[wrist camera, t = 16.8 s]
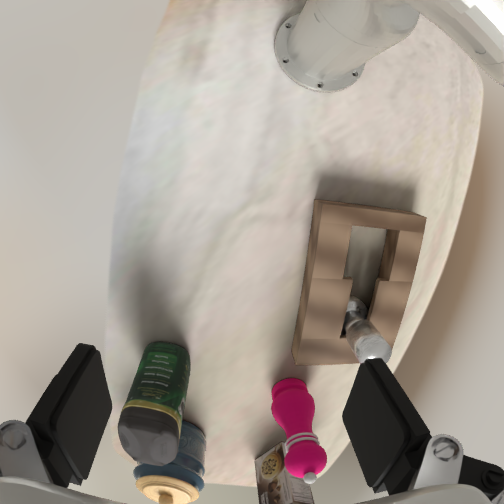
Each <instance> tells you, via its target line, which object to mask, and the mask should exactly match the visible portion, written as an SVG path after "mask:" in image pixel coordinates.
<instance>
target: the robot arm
mask: <svg viewBox="0 0 504 504" xmlns="http://www.w3.org/2000/svg"><path fill="white" fill-rule="evenodd" d="M419 14H422V15H423V16H424V17H425V18H427V19H428V20H429V21H430V22H432V23H434V24H435V25H436V26H438V27H439V28H440V29H441V30H442V31H443V32H444V33H446V34H447V35H448V36H449V37H450V38H451V39H452V40H453V41H454V42H455V43H456V44H457V45H458V46H459V47H461V48H462V49H463V50H464V51H465V52H466V53H467V54H468V55H469V56H470V57H471V58H472V59H473V61H474V62H475V63H476V64H477V65H478V66H479V67H480V68H481V69H482V70H483V71H485V73H486V74H487V75H488V76H490V77H491V78H492V79H493V80H495V81H496V82H497V83H499V84H501V85H503V86H504V0H307V2H306V4H305V6H304V8H303V9H302V11H301V13H298V14H295V15H293V16H291V17H290V18H288V19H287V20H286V21H285V22H284V23H283V24H282V25H281V27H280V28H279V30H278V32H277V35H276V38H275V46H274V48H275V55H276V57H277V60H278V63H279V64H280V66H281V68H282V70H283V71H284V72H285V73H286V74H287V75H288V76H289V77H290V78H291V79H292V80H293V81H295V82H296V83H298V84H299V85H301V86H303V87H305V88H307V89H310V90H313V91H318V92H336V91H340V90H343V89H345V88H347V87H349V86H351V85H352V84H353V83H355V82H356V81H357V80H358V79H359V77H360V76H361V74H362V72H363V70H364V66H365V62H367V61H368V60H370V59H372V58H373V57H375V56H377V55H378V54H380V53H382V52H383V51H385V50H387V49H388V48H390V47H392V46H393V45H395V44H397V43H399V42H400V41H402V40H404V39H405V38H406V37H408V36H409V35H410V34H411V32H412V31H413V30H414V28H415V27H416V24H417V22H418V19H419ZM286 27H289V28H286ZM283 61H286V62H287V63H284V62H283ZM352 74H354V76H353V75H352ZM317 85H320V88H319V87H318V86H317ZM111 411H112V401H111V398H110V394H109V390H108V386H107V382H106V378H105V373H104V369H103V364H102V360H101V355H100V352H99V351H98V350H96V348H95V347H94V346H93V345H88V344H82V343H79V344H78V345H77V346H76V348H75V349H74V351H73V352H72V353H71V355H70V356H69V358H68V359H67V361H66V362H65V364H64V365H63V367H62V368H61V370H60V371H59V373H58V374H57V375H56V376H55V377H54V378H53V379H52V381H51V383H50V384H49V386H48V387H47V389H46V390H45V392H44V393H43V395H42V397H41V398H40V400H39V402H38V403H37V405H36V406H35V408H34V409H33V411H32V413H31V414H30V416H29V418H28V419H27V421H26V423H24V422H22V421H18V420H9V421H6V422H3V423H2V424H1V425H0V504H126V503H121V502H117V501H112V500H108V499H104V498H99V497H96V496H92V495H88V494H84V493H81V492H78V491H74V490H71V489H68V488H67V487H68V485H69V483H73V484H77V485H80V486H81V483H82V480H83V479H85V480H86V479H87V478H88V475H89V472H90V469H91V467H92V463H93V461H94V458H95V455H96V452H97V449H98V446H99V444H100V441H101V438H102V435H103V433H104V430H105V427H106V424H107V422H108V419H109V417H110V414H111ZM342 418H343V422H344V425H345V427H346V430H347V433H348V435H349V438H350V440H351V442H352V445H353V448H354V451H355V453H356V456H357V458H358V461H359V463H360V466H361V469H362V471H363V474H364V477H365V479H366V482H367V485H368V486H369V487H372V488H373V491H374V493H379V492H382V491H386V490H387V491H388V494H389V496H387V497H383V498H379V499H374V500H370V501H365V502H360V503H356V504H504V470H503V469H501V468H500V467H499V466H497V465H494V464H490V463H487V462H484V461H481V460H477V459H474V458H471V457H468V456H465V455H463V447H462V445H461V443H460V442H459V441H458V440H457V439H456V438H454V437H452V436H450V435H446V434H440V435H436V436H434V437H432V436H431V435H430V431H429V429H428V428H427V426H426V425H425V423H424V421H423V420H422V418H421V417H420V415H419V414H418V412H417V411H416V409H415V407H414V406H413V404H412V403H411V401H410V400H409V398H408V397H407V395H406V393H405V392H404V390H403V389H402V387H401V386H400V384H399V383H398V382H397V380H396V378H395V377H394V375H393V374H392V372H391V371H390V369H389V368H388V366H387V365H386V363H385V362H384V360H383V359H382V358H369V359H366V360H365V361H364V363H361V364H360V367H359V370H358V373H357V375H356V378H355V381H354V384H353V387H352V390H351V392H350V395H349V398H348V400H347V403H346V406H345V408H344V411H343V415H342Z"/></svg>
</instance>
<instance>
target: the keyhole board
mask: <svg viewBox="0 0 504 504" xmlns="http://www.w3.org/2000/svg"><path fill="white" fill-rule="evenodd" d="M426 218H427V217H424V216H421V215H419V214H416V213H414V212H409V211H402V210H395V209H388V208H381V207H374V206H367V205H359V204H351V203H343V202H334V201H326V200H316V199H315V200H314V208H313V216H312V224H311V231H310V239H309V246H308V253H307V260H306V267H305V273H304V280H303V286H302V292H301V299H300V305H299V311H298V316H297V322H296V328H295V334H294V339H293V345H292V350H291V351H292V354H293V358H294V361H295V364H296V365H333V364H353V363H359V361H358V359H357V358H356V356H355V354H354V352H353V351H352V349H351V347H350V345H349V344H348V342H347V340H346V335H341V331H342V327H343V323H344V319H345V315H346V311H347V306H348V302H349V297H350V293H351V288H352V284H353V279H352V278H351V277H343V275H344V269H345V264H346V259H347V253H348V247H349V241H350V235H351V229H352V225H355V226H364V227H374V228H383V229H388V230H387V236H386V241H385V246H384V251H383V256H382V261H381V266H380V270H379V275H378V278H377V280H376V284H375V288H374V292H373V296H372V300H371V304H370V308H369V312H368V316H367V320H369V321H371V322H372V323H373V325H374V326H375V327H376V329H377V330H378V331H379V332H380V334H381V335H382V336H383V338H384V339H385V340H386V342H387V343H388V344H389V346H390V347H391V350H392V348H393V345H394V342H395V339H396V336H397V333H398V330H399V327H400V324H401V321H402V318H403V314H404V311H405V308H406V304H407V301H408V297H409V294H410V290H411V286H412V282H413V279H414V275H415V271H416V266H417V262H418V258H419V253H420V249H421V244H422V239H423V234H424V229H425V224H426Z"/></svg>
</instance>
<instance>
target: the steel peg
mask: <svg viewBox="0 0 504 504" xmlns="http://www.w3.org/2000/svg"><path fill="white" fill-rule="evenodd" d="M367 316H368V309H367V307H366V306H365V305H364V304H363V302H362V301H361V300H360V299H359V298H357V297H354V296H350V297H349V302H348V306H347V311H346V315H345V319H344V323H343V327H342V331H341V335H346V340H347V342H348V344H349V345H350V347H351V349H352V351H353V352H354V354H355V356H356V358H357V359H358V361H359V363H360V364H361V363H364V361H365V360H366V359H369V358H382V359H383V360H384V362H385V363H387V362H388V360H389V359H390V357H391V353H392V350H391V347H390V346H389V344H388V343H387V342H386V340H385V339H384V338H383V336H382V335H381V334H380V332H379V331H378V330H377V329H376V327H375V326H374V325H373V323H372V322H371V321H369V320H367Z"/></svg>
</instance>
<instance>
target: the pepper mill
mask: <svg viewBox="0 0 504 504" xmlns="http://www.w3.org/2000/svg"><path fill="white" fill-rule="evenodd" d="M272 399H273V403H272V406H271V410H272V414H273V417H274V418H275V420H276V421H277V423H278V424H279V425H280V426H281V427H282V428H283V429H284V431H285V433H286V436H287V441H286V442H285V448H286V453H287V454H286V456H285V459H284V462H285V467H286V469H287V471H288V472H289V473H290V474H291V475H293V476H295V477H298V478H303V480H304V481H305V482H306V483H308V484H311V483H313V482H315V481H316V478H317V477H316V475H317V474H318V473H320V472H321V471H322V470H323V469H324V467H325V466H326V463H327V455H326V452H325V450H324V449H323V448H322V447H321V446H319V441H318V437H317V436H316V435H315V434H313V432H312V420H313V417H314V412H315V404H314V400H313V398H312V396H311V395H310V394H309V393H308V390H307V387H306V384H305V383H304V382H303V381H302V380H299V379H296V378H288V379H284V380H282V381H280V382H278V383H277V384H276V385H275V386H274V387H273V389H272Z"/></svg>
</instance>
